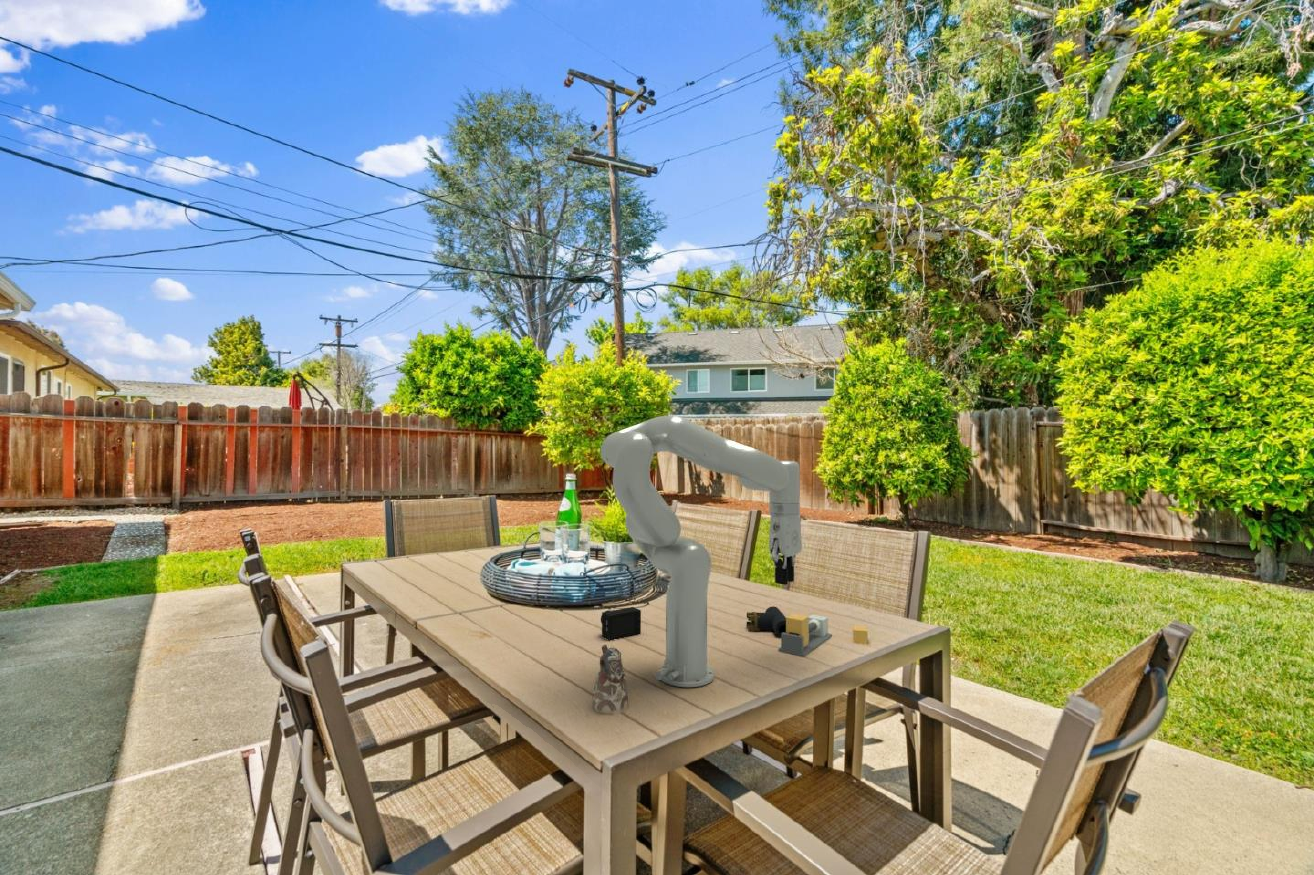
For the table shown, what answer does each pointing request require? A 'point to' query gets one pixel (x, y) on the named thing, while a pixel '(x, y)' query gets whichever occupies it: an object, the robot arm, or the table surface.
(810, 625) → the grey slider rail base
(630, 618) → the digital camera
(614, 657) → the figurine
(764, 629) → the pipe connector
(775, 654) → the table surface
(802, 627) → the yellow sliding block
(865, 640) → the mustard yellow cube
